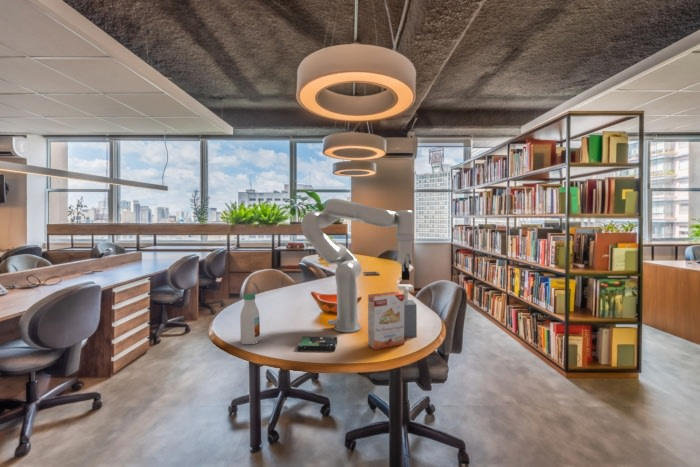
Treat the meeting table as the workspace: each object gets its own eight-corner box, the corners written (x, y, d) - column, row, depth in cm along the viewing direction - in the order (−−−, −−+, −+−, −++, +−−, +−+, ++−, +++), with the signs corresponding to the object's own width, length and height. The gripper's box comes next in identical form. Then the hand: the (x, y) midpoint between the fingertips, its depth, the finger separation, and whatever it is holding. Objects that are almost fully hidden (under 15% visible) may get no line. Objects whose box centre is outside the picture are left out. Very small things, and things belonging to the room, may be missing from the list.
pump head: (401, 317, 134) (400, 288, 134) (397, 311, 143) (397, 284, 143) (415, 317, 134) (415, 288, 134) (410, 311, 143) (410, 284, 143)
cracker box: (374, 350, 122) (374, 297, 121) (367, 345, 127) (367, 294, 127) (405, 344, 127) (404, 293, 127) (397, 339, 133) (396, 290, 132)
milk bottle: (249, 346, 127) (248, 297, 127) (236, 343, 131) (235, 295, 131) (263, 340, 134) (262, 293, 133) (251, 337, 138) (250, 292, 137)
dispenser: (398, 336, 136) (398, 304, 136) (395, 330, 144) (395, 300, 144) (416, 336, 136) (416, 304, 136) (412, 330, 144) (412, 300, 144)
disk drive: (337, 343, 132) (302, 342, 132) (337, 336, 132) (302, 335, 132) (335, 353, 121) (297, 352, 122) (335, 346, 121) (297, 345, 122)
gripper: (394, 237, 146) (394, 276, 147) (399, 239, 131) (399, 282, 132) (410, 237, 146) (410, 276, 147) (417, 239, 132) (417, 282, 132)
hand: (405, 279), depth 139 cm, fingers closed
